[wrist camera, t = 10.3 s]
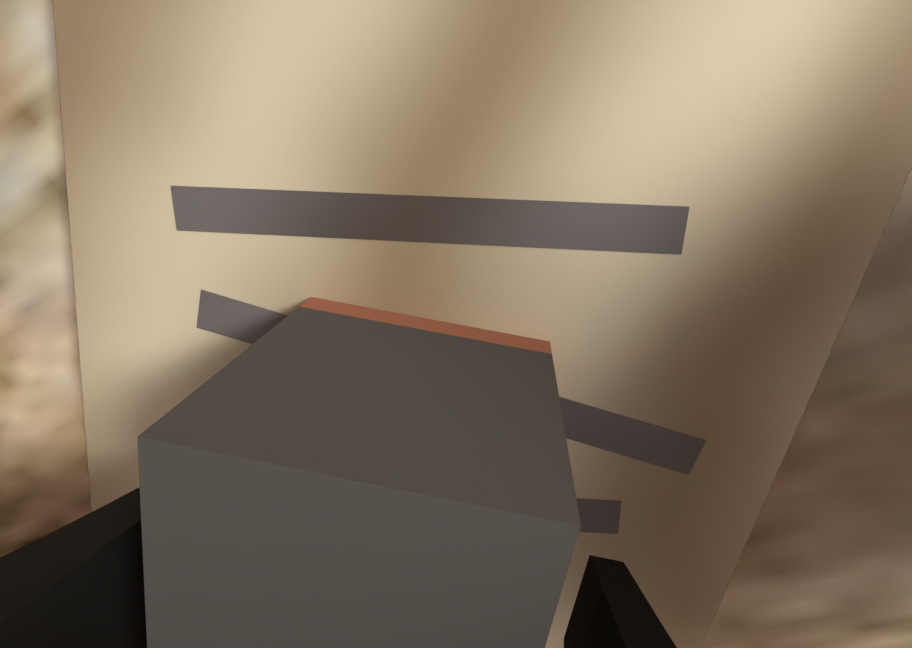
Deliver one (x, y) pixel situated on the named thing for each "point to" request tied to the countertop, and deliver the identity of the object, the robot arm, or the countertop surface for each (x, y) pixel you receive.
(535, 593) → the block
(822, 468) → the countertop surface
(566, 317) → the board
